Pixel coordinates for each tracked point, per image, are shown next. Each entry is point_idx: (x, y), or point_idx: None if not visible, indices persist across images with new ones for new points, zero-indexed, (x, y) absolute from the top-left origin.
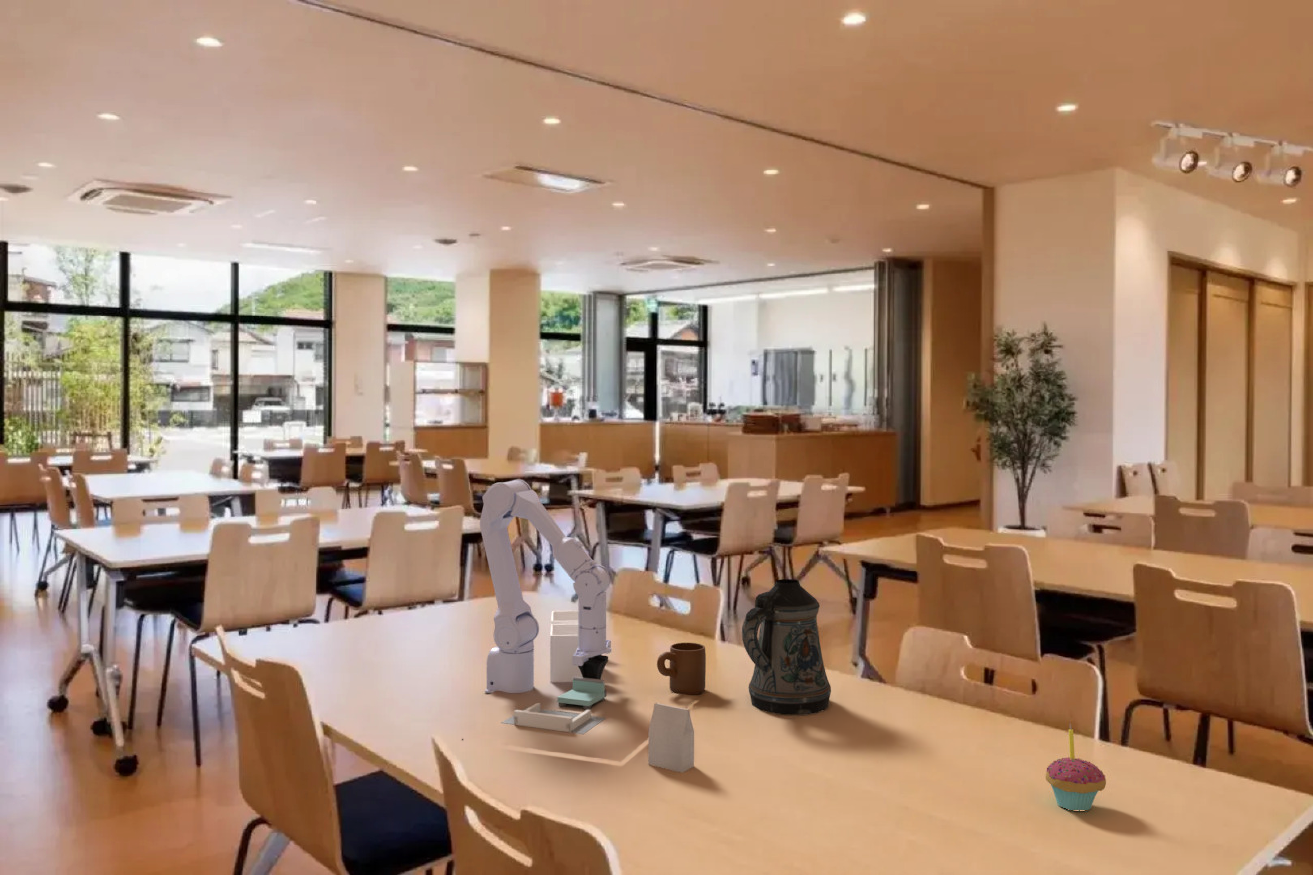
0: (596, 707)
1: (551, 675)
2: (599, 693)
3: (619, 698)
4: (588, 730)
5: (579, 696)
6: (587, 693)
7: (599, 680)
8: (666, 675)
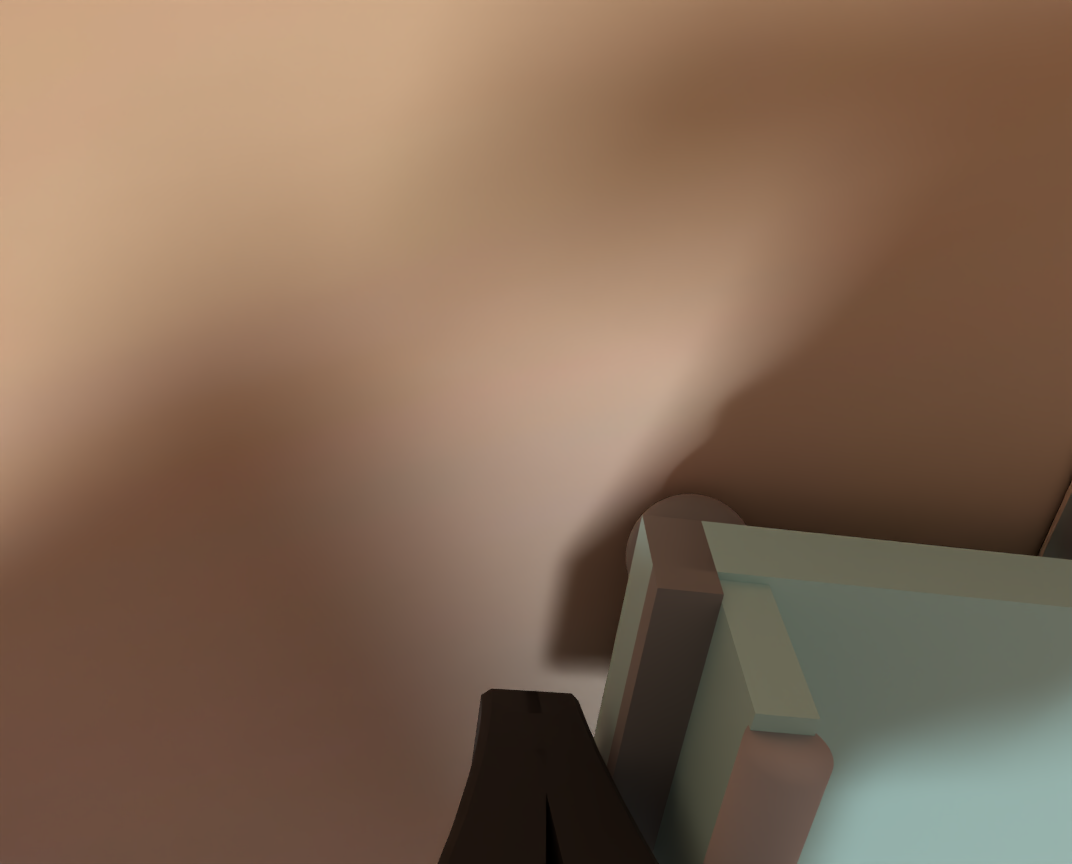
0: (886, 515)
1: None
2: (803, 628)
3: (341, 330)
4: None
5: (1049, 819)
6: (841, 775)
7: (809, 826)
8: None
